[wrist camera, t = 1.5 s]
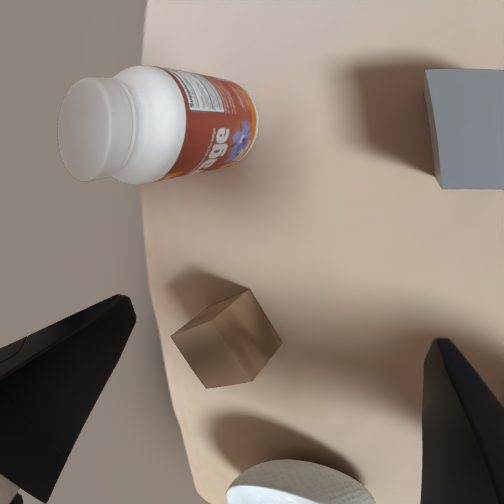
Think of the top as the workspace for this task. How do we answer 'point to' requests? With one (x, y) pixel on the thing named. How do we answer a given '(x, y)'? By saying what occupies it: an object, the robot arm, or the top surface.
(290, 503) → the cereal bowl
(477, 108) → the slate-grey cube
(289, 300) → the top surface
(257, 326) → the walnut cube
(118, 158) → the pill bottle
